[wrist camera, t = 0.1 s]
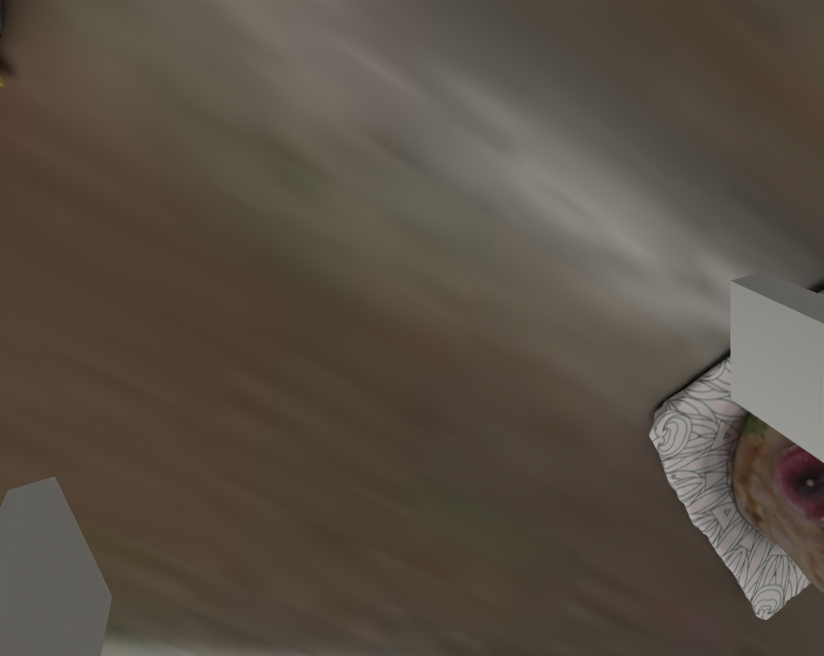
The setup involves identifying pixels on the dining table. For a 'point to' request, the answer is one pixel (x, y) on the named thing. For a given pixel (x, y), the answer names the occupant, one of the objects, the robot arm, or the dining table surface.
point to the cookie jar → (745, 489)
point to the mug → (0, 29)
